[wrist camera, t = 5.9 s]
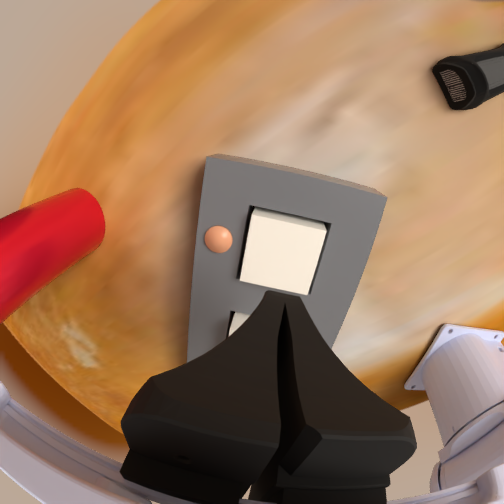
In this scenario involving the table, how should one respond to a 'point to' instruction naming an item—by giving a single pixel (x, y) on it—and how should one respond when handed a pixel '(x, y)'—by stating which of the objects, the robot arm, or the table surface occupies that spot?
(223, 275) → the key panel
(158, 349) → the table surface
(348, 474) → the robot arm
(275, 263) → the key
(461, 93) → the electric trimmer
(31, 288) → the bottle
